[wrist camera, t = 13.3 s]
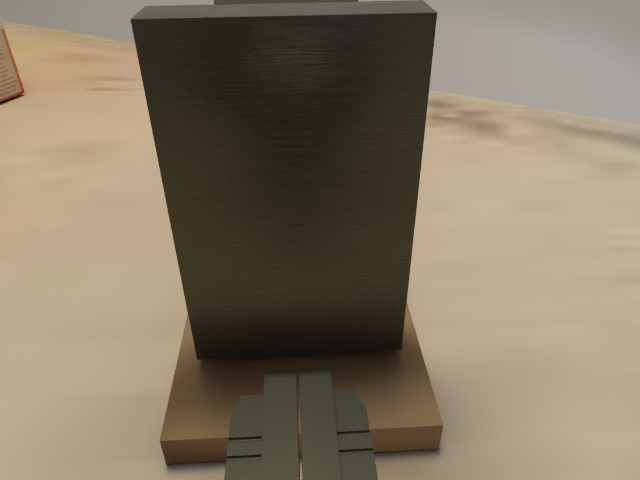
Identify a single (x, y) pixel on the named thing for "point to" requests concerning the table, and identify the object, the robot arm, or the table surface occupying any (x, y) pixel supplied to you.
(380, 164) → the brushed metal plate
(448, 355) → the table surface
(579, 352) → the table surface
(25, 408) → the table surface
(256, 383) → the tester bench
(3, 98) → the cracker box
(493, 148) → the table surface
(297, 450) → the robot arm
